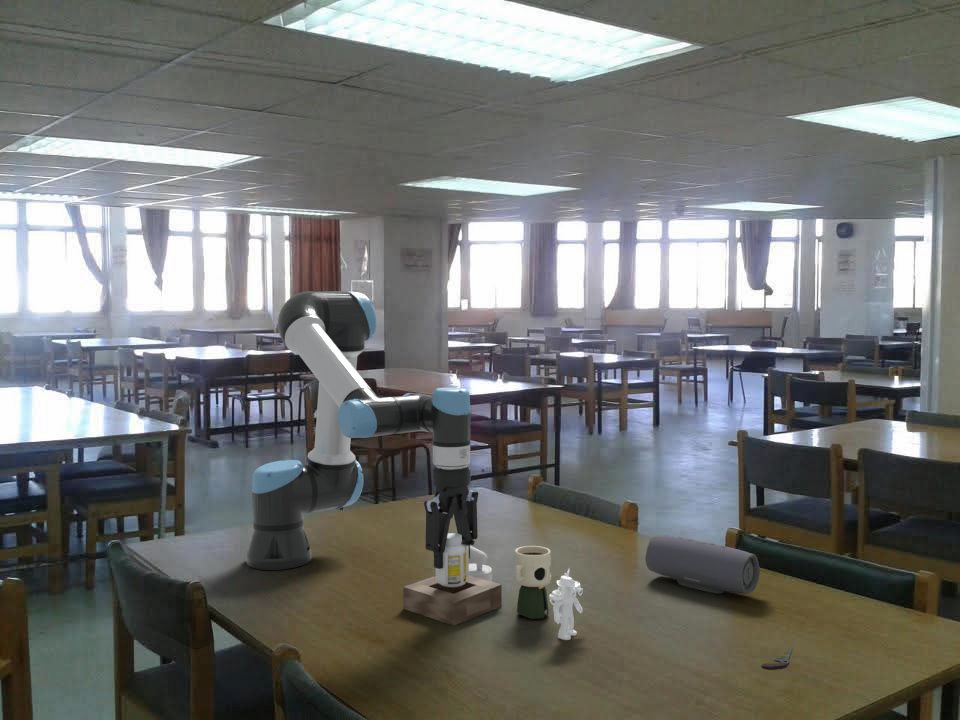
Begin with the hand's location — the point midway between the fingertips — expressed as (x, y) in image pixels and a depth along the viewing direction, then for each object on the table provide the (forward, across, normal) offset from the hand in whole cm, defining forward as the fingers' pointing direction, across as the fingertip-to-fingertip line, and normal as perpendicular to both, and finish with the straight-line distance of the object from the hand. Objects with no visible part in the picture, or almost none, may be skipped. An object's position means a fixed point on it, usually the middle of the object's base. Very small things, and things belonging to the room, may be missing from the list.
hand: (452, 579), depth 174 cm
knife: (+6, +20, -59) cm, 63 cm away
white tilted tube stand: (+6, +15, +9) cm, 18 cm away
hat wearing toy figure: (+6, +3, -26) cm, 27 cm away
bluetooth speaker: (+6, +44, -32) cm, 55 cm away
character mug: (+6, +7, -15) cm, 18 cm away
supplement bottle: (+1, 0, 0) cm, 1 cm away
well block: (+6, 0, 0) cm, 6 cm away
